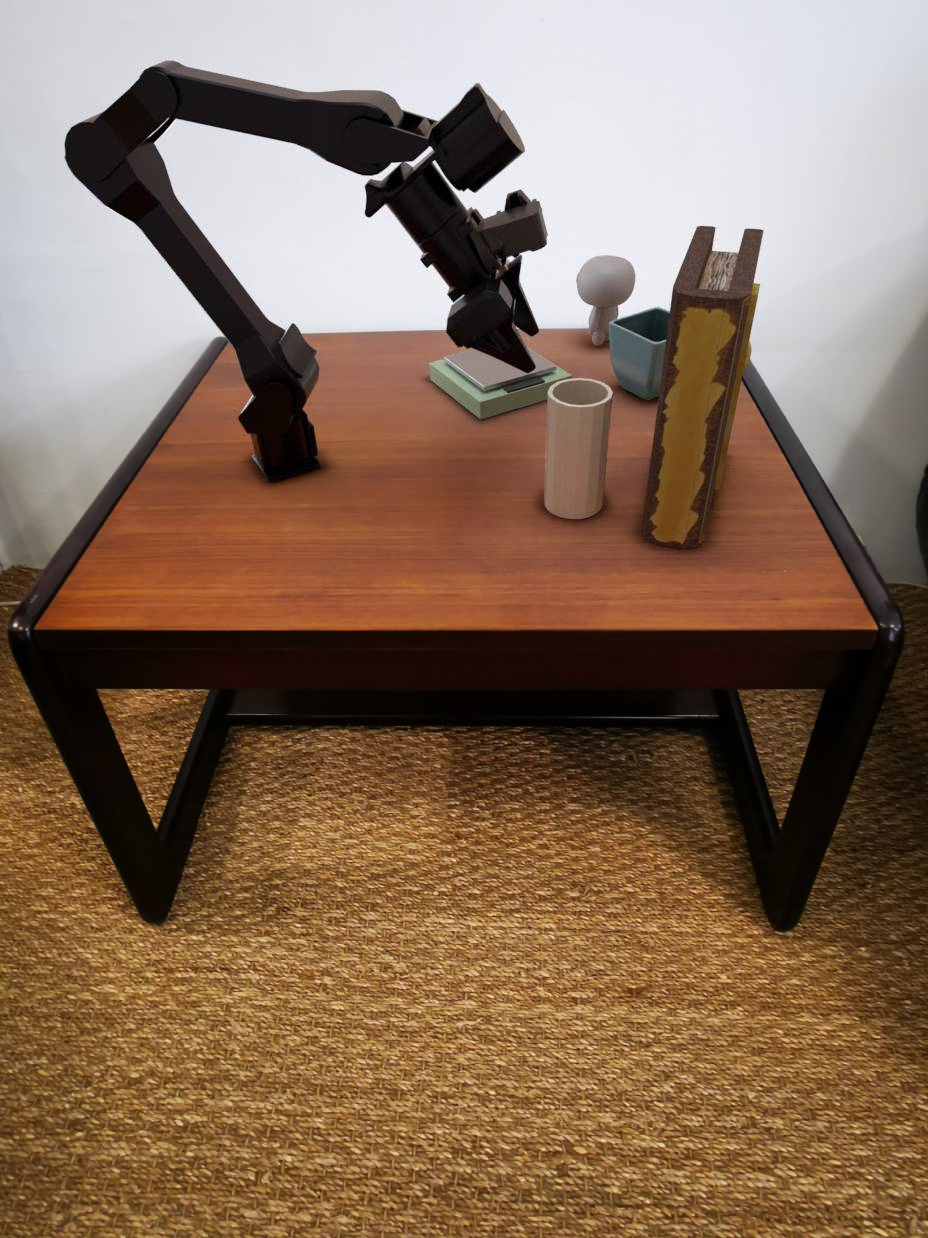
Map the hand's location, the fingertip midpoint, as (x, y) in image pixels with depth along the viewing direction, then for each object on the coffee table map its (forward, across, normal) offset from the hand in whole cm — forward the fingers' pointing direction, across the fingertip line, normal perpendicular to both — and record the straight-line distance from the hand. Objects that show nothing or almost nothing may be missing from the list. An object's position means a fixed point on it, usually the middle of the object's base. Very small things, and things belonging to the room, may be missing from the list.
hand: (534, 351), depth 86 cm
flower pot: (+20, +21, -3) cm, 30 cm away
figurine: (+17, +36, +2) cm, 40 cm away
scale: (+8, +22, +13) cm, 27 cm away
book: (+22, -3, -5) cm, 23 cm away
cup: (+14, -7, +5) cm, 16 cm away
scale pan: (+6, +22, +11) cm, 25 cm away
